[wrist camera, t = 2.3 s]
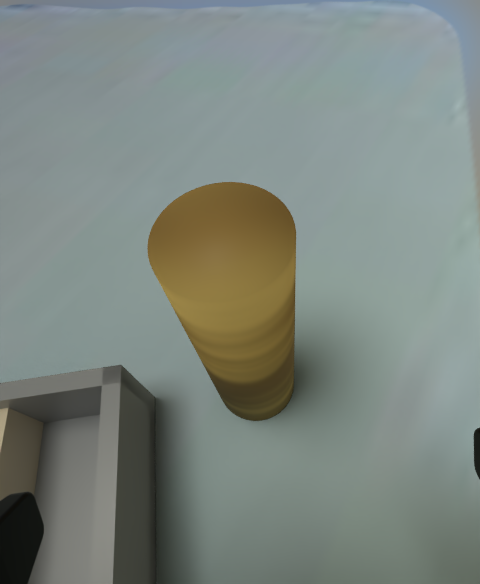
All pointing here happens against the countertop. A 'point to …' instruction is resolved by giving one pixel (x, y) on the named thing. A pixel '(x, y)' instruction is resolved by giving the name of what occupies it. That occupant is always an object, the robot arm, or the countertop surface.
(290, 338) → the peg
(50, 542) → the bore box
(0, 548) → the robot arm
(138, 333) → the countertop surface
